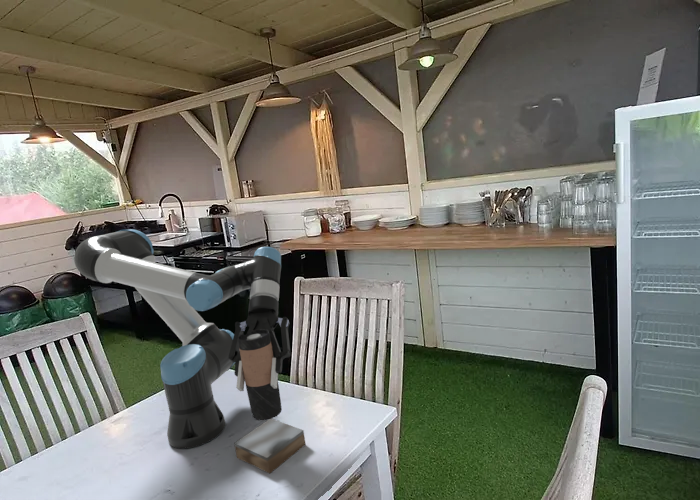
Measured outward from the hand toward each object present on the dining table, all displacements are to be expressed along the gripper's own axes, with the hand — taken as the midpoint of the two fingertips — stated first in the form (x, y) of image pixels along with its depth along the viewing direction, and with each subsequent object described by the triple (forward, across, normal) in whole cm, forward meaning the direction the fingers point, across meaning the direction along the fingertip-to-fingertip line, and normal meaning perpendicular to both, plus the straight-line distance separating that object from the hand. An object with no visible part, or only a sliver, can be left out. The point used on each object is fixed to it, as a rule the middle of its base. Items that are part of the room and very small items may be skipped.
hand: (256, 388), depth 104 cm
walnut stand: (+11, 0, -16) cm, 19 cm away
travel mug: (+4, 0, -9) cm, 9 cm away
